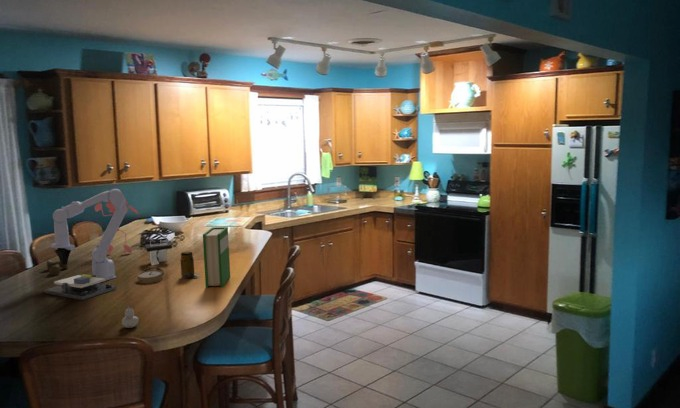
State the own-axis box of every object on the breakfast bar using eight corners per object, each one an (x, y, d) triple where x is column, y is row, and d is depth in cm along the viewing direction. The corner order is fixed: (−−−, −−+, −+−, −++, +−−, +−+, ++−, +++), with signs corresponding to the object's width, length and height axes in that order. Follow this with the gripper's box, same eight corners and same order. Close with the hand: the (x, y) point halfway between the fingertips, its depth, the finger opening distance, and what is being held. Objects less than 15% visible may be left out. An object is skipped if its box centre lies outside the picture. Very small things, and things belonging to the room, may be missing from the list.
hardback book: (222, 287, 238) (219, 234, 234) (205, 287, 237) (202, 234, 234) (230, 276, 255) (227, 227, 252) (214, 277, 255) (212, 227, 252)
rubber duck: (120, 330, 187) (118, 308, 186) (124, 324, 193) (123, 302, 192) (136, 329, 188) (135, 307, 187) (140, 322, 194) (138, 301, 193)
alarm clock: (133, 278, 245) (143, 265, 260) (135, 288, 247) (144, 274, 261) (158, 277, 246) (166, 264, 260) (160, 287, 248) (167, 273, 262)
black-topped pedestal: (133, 272, 269) (131, 246, 267) (130, 261, 292) (128, 237, 291) (190, 265, 280) (189, 240, 278) (183, 255, 304) (182, 232, 302)
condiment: (183, 275, 260) (181, 250, 259) (200, 274, 260) (199, 250, 258) (178, 279, 253) (177, 254, 251) (196, 278, 253) (195, 253, 251)
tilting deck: (54, 283, 235) (53, 277, 234) (78, 277, 245) (78, 270, 245) (81, 288, 226) (80, 281, 226) (105, 280, 237) (104, 274, 236)
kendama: (43, 278, 263) (49, 267, 282) (65, 276, 267) (69, 266, 285) (42, 266, 262) (48, 256, 281) (64, 264, 266) (69, 255, 284)
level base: (44, 293, 235) (43, 280, 234) (79, 283, 250) (78, 271, 249) (82, 300, 223) (81, 287, 222) (116, 289, 238) (115, 277, 237)
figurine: (138, 255, 305) (134, 194, 301) (93, 256, 306) (88, 195, 302) (148, 250, 320) (144, 192, 317) (105, 251, 321) (101, 193, 317)
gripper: (43, 235, 246) (46, 264, 247) (63, 238, 239) (66, 267, 241) (57, 233, 252) (60, 261, 253) (78, 235, 245) (80, 264, 247)
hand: (64, 264), depth 247 cm, fingers closed
